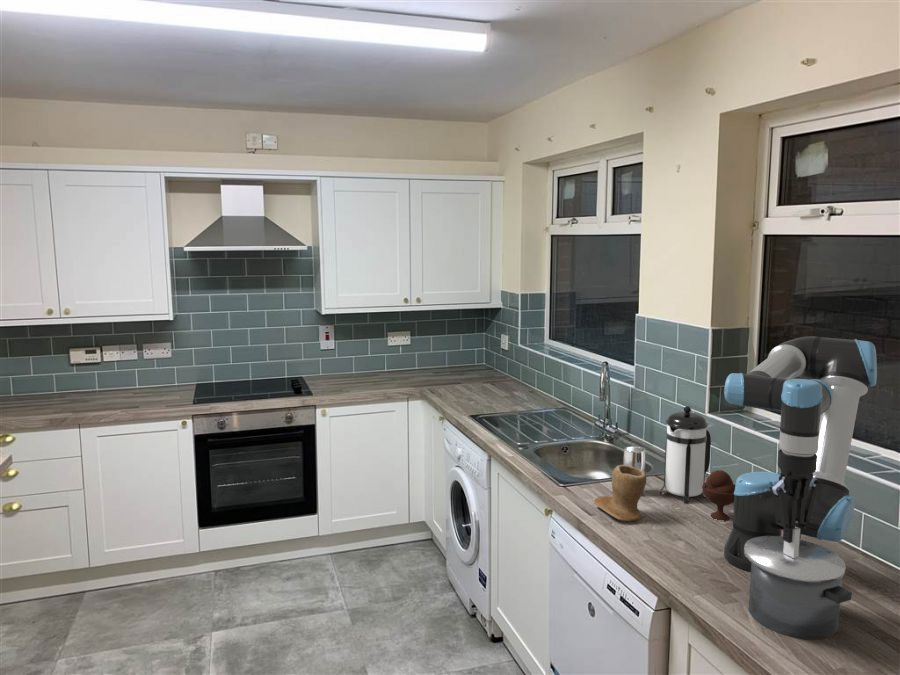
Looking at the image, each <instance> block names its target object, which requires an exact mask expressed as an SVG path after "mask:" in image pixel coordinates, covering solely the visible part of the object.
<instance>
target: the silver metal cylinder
mask: <svg viewBox="0 0 900 675" xmlns="http://www.w3.org/2000/svg"><path fill="white" fill-rule="evenodd" d="M622 461H623V464H622V465H626V466H630V467H634V468H637V469H639V470H641V471H643V472H644V473H645V468H646V449H645V448H644V447H641V446H634V445H631V446H625V447H624V451H623V460H622Z"/></svg>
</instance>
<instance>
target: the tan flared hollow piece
mask: <svg viewBox="0 0 900 675" xmlns="http://www.w3.org/2000/svg"><path fill="white" fill-rule="evenodd" d="M611 477H612V478H611V489H612V496H610V495H604V496H603V495H602V496H601V495H600V496H598V497H596V498H594V499H593V501H592V502H593V504H594V505H595V506H597V507H598V508H599V509H601V510H602V511H604V512H605V513H606V514H608V515H609V516H610V517H613V518H614V519H617V520H618V521H622V522H633V521H638V520H639V519H642V518H643V514H642V512H641V511H640V510H639V509H638V503H639V500H640V498H641V497H642V495H643V494H642V493H644V491H645V489H646V488H645V487H646V485H647V474H646V473H645V471H644V472H643V471H641V470H639V469H637V468H634V467H630V466H626V465H623V464H619V465H617V466H616V467H614V469H613V471H612V476H611Z"/></svg>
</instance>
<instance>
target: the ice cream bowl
mask: <svg viewBox="0 0 900 675" xmlns="http://www.w3.org/2000/svg"><path fill="white" fill-rule="evenodd" d="M735 485H736V483H735V484H734V482H733V479H732V478H731V476H730V474H728V472H726V471H724V470H722V469H721V470H718V469H717V470H715V471H712V472H711V473H710V474H709V476H708V477H706V481H705V482H704V483H703V486H702V489H703V492H702V494H703V495H705V496H706V497H705V498H706V499H707V500H709V501H710V502H711V503H713V504H714V505H716V507H717V508H716V511H715V512H711V514H710V516H711V517H712V518H713V519H712V518H711V517H710V518H711V519H712V520H714V519H717V520H716V521H718V520H724V521H723V522H726V521H725V520H727V521H730V516H729V514H726V513H725V512H724V507H725V506H728V505H732V504H734V491H735Z"/></svg>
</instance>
